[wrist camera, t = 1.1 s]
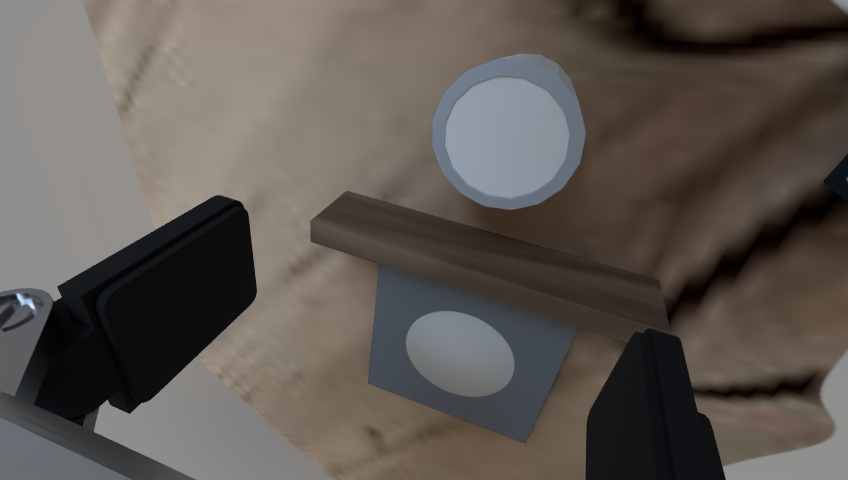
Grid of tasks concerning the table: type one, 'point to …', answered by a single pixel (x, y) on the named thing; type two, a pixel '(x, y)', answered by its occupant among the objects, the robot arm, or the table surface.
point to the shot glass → (509, 131)
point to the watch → (839, 179)
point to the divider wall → (494, 266)
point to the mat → (464, 352)
